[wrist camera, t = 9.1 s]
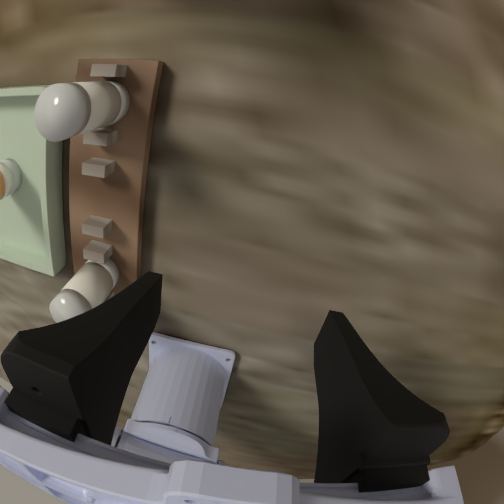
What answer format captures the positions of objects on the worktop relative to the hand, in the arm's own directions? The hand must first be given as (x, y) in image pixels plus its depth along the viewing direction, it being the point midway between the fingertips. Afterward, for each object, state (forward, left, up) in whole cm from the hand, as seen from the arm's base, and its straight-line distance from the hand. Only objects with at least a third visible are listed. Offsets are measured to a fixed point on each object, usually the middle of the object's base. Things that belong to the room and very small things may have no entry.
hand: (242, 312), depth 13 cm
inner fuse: (-6, +11, -9) cm, 16 cm away
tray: (0, +21, -10) cm, 23 cm away
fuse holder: (0, +11, -10) cm, 15 cm away
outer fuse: (+6, +11, -9) cm, 16 cm away
